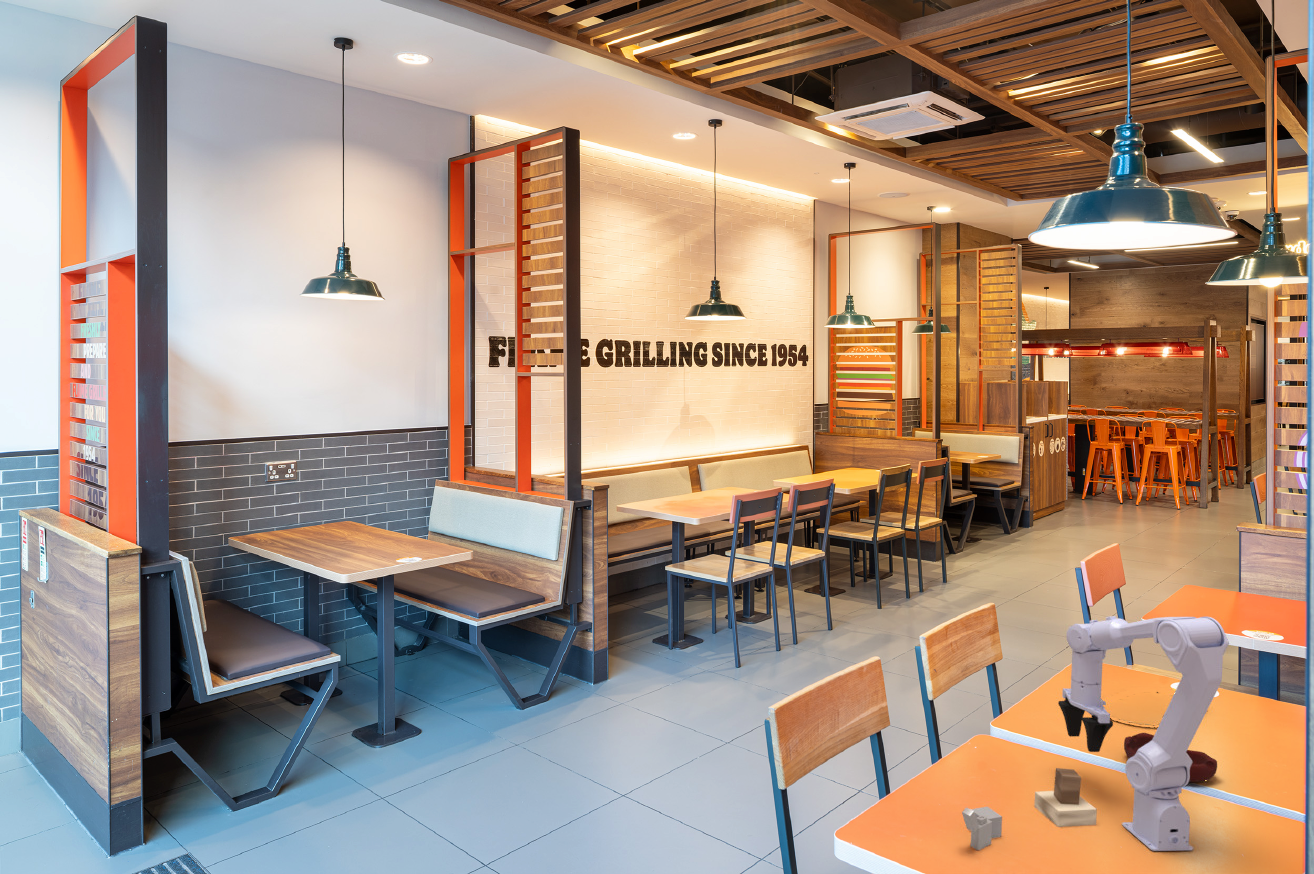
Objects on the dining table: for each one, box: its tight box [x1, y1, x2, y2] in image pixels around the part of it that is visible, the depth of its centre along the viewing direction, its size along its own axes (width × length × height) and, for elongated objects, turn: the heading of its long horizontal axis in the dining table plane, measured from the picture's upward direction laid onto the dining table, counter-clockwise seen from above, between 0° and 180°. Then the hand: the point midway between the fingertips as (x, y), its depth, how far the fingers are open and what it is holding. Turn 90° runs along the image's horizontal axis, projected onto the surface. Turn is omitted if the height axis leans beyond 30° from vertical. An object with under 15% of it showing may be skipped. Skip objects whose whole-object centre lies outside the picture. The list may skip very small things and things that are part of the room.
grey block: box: [970, 806, 1003, 840], centre depth 161 cm, size 4×4×4 cm
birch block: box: [1033, 790, 1098, 828], centre depth 168 cm, size 8×8×4 cm
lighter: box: [961, 806, 992, 851], centre depth 156 cm, size 7×2×8 cm, turn 125°
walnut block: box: [1053, 767, 1082, 805], centre depth 168 cm, size 4×4×6 cm
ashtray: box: [1123, 732, 1218, 783], centre depth 188 cm, size 18×16×5 cm
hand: (1083, 743), depth 178 cm, fingers open, 7 cm apart
